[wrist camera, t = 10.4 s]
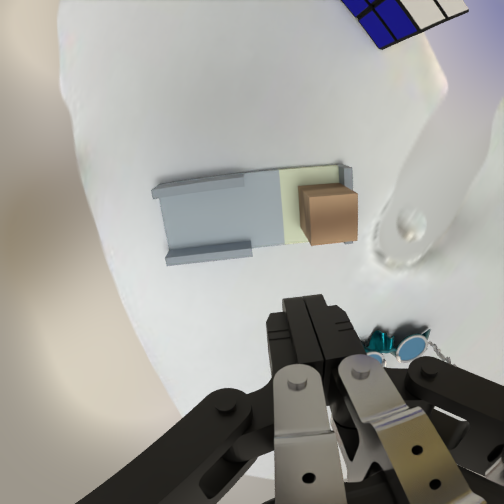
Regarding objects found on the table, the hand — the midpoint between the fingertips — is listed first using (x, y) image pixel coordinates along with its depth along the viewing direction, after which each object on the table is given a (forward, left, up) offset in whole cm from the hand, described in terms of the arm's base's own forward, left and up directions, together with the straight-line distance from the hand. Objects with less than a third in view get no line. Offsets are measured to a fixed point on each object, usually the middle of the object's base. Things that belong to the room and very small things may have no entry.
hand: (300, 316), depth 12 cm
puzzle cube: (-24, +18, -26) cm, 40 cm away
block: (+2, +7, -25) cm, 26 cm away
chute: (+2, -1, -26) cm, 26 cm away
